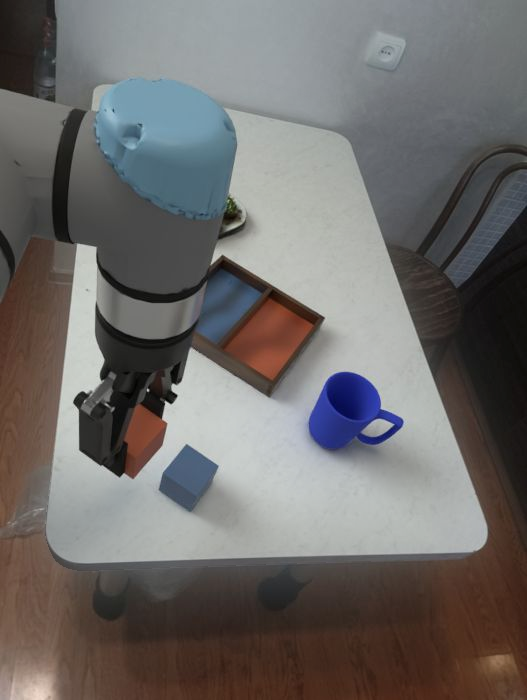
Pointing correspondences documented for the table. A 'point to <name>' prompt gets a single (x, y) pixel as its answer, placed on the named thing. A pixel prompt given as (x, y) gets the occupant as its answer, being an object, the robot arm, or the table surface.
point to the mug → (348, 412)
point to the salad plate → (232, 217)
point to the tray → (252, 326)
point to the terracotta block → (143, 439)
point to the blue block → (188, 477)
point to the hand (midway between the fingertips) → (129, 447)
